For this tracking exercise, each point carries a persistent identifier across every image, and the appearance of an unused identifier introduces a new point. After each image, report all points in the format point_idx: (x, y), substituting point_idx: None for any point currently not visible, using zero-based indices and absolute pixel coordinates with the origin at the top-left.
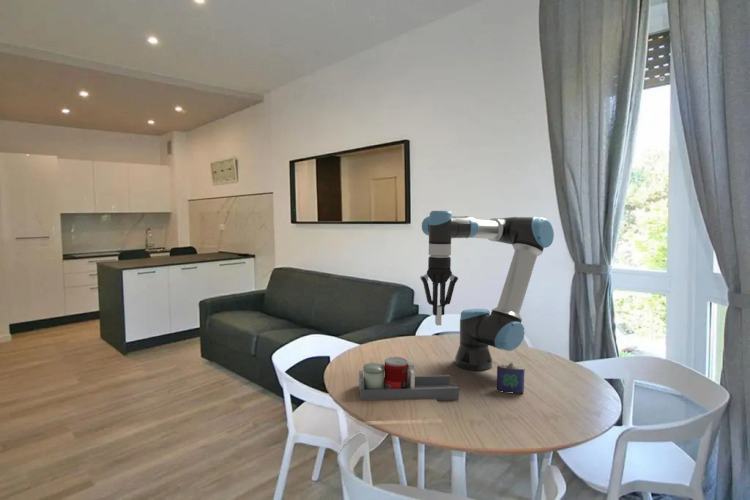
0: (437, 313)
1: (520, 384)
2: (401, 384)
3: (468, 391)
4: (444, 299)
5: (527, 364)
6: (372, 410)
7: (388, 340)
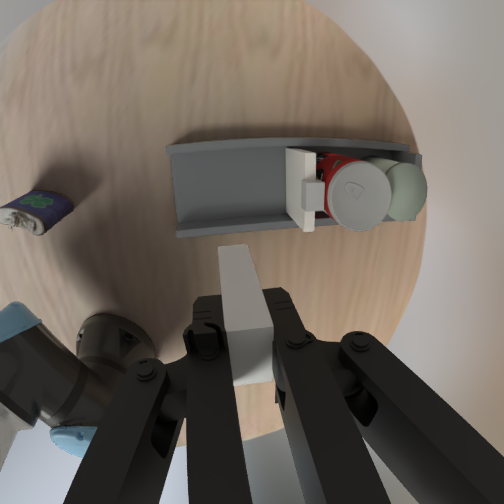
0: (258, 287)
1: (23, 196)
2: (327, 155)
3: (136, 195)
4: (194, 400)
5: None
6: (376, 105)
7: (279, 427)
